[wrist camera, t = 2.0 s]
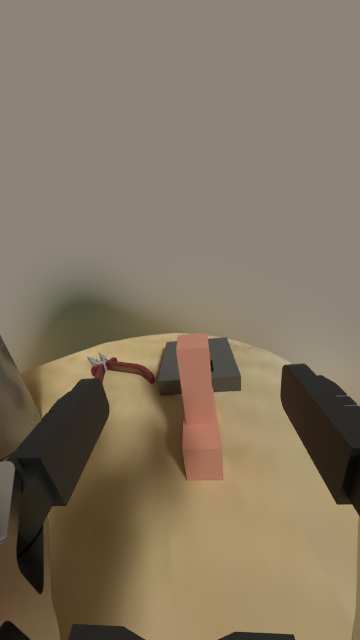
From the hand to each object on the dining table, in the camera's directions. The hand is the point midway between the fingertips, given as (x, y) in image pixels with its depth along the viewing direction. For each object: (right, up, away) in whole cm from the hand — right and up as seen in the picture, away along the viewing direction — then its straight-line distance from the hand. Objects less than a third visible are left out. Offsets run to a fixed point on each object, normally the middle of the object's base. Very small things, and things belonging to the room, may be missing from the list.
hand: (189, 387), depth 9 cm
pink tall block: (+3, -13, +17) cm, 22 cm away
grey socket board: (+3, -7, +32) cm, 33 cm away
